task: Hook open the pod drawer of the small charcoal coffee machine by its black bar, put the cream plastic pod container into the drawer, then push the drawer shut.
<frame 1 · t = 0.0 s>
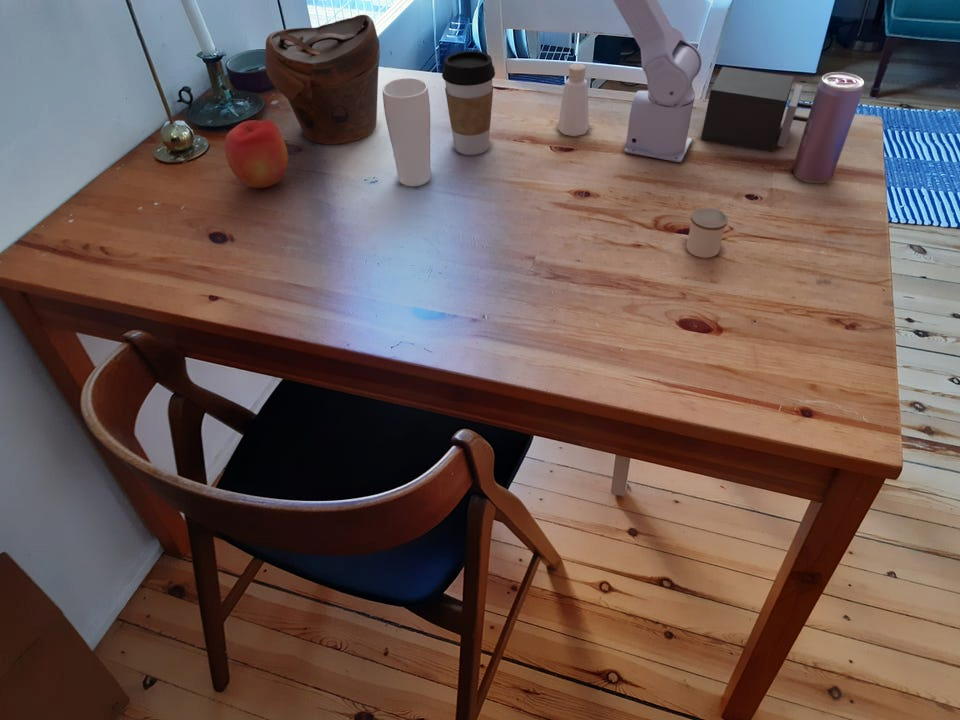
beverage can: (811, 175, 111), on the table
pod container: (702, 248, 98), on the table
apple: (265, 184, 114), on the table
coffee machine: (740, 132, 121), on the table
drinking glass: (414, 180, 114), on the table
drawer: (776, 113, 117), point 4 cm above the table, slide at 0.5 cm
coffee cup: (471, 147, 121), on the table
pepper shaker: (573, 130, 124), on the table
case: (337, 130, 127), on the table
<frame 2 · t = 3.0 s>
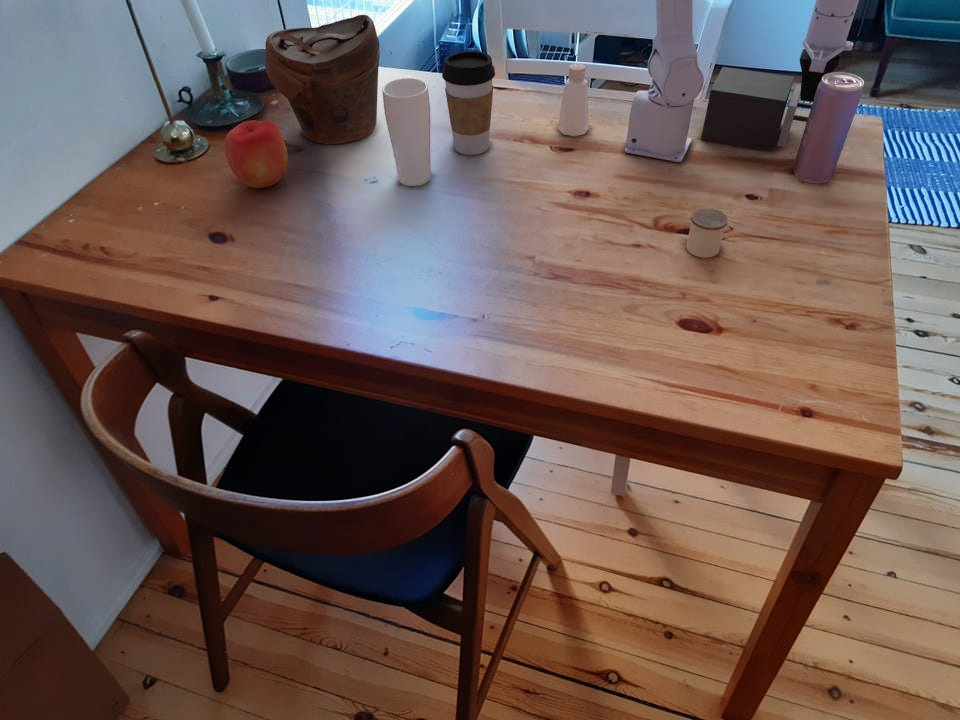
hand: (807, 99, 114), 7 cm above the table, tool pointing down, fingers closed, pressing on drawer
drawer: (776, 113, 117), point 4 cm above the table, slide at 0.5 cm, touching gripper
everything else where it was.
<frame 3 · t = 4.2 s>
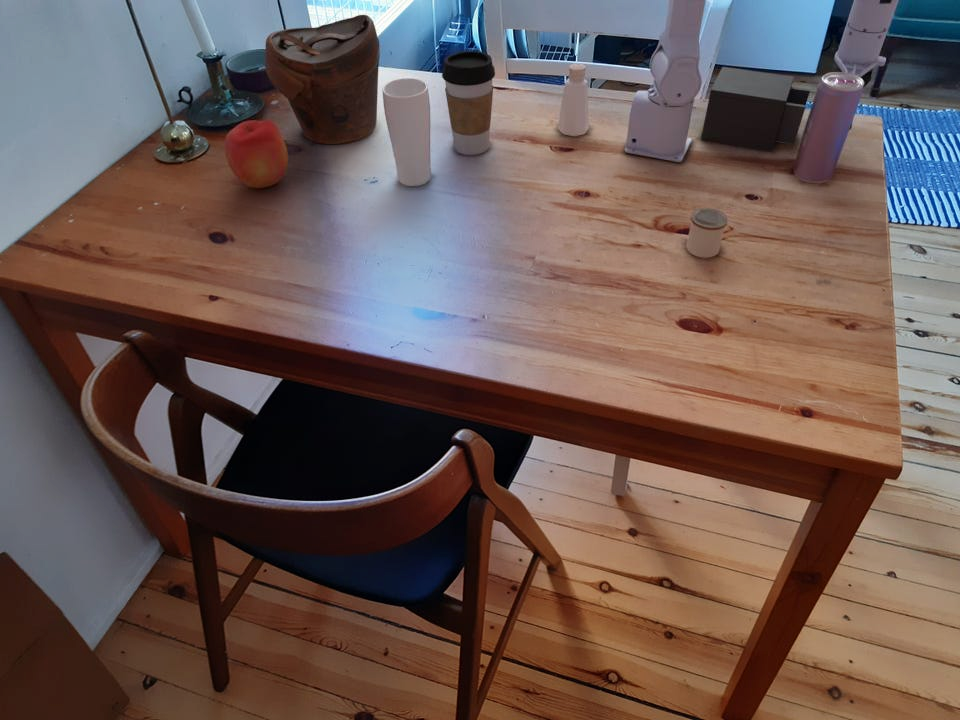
hand: (837, 114, 114), 5 cm above the table, tool pointing down, fingers closed, pressing on drawer
drawer: (800, 116, 115), point 4 cm above the table, slide at 4.3 cm, touching gripper
everything else where it was.
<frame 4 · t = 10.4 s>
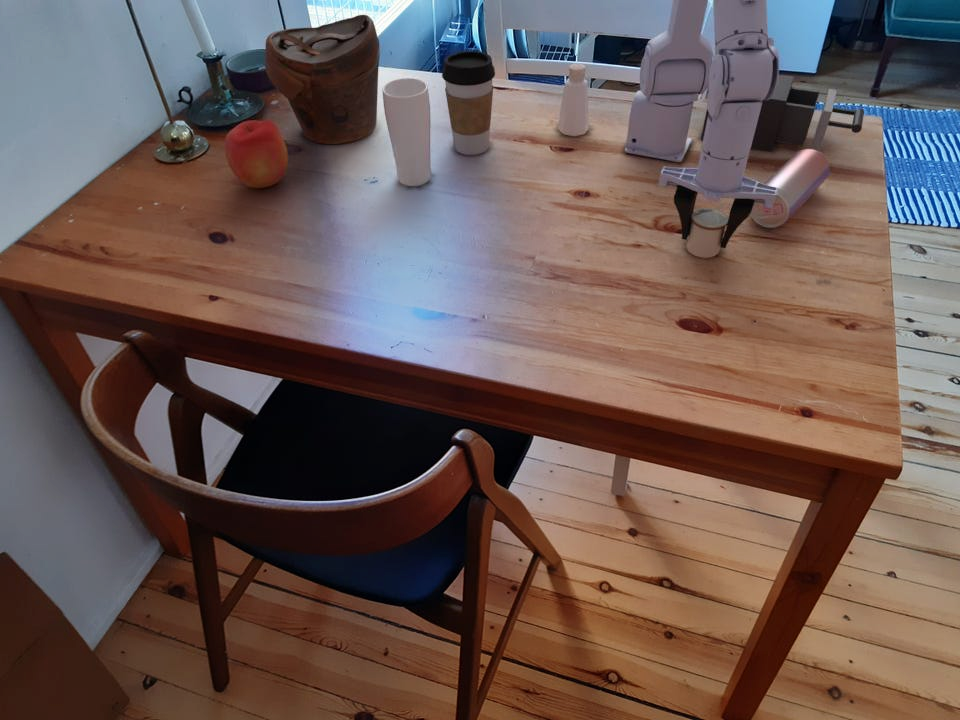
hand: (704, 239, 97), 1 cm above the table, tool pointing down, fingers closed on pod container, 4 cm apart
beverage can: (811, 165, 107), point 3 cm above the table
pod container: (702, 248, 98), on the table, touching gripper
drawer: (809, 118, 115), point 4 cm above the table, slide at 5.7 cm
everything else where it was.
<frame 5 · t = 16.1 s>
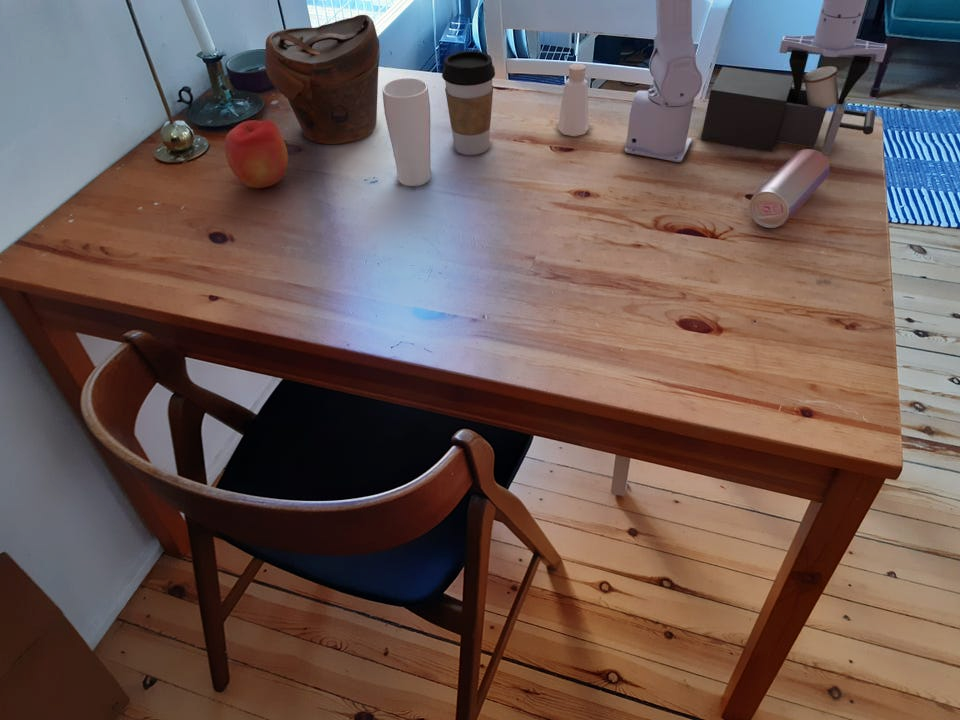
hand: (817, 101, 113), 7 cm above the table, tool pointing down, fingers closed on pod container, 6 cm apart
pod container: (823, 104, 113), point 7 cm above the table, tilted 22°, touching drawer, gripper
drawer: (820, 119, 115), point 4 cm above the table, slide at 7.4 cm, touching gripper, pod container
everything else where it was.
when the fingers open (7 cm above the table, at t = 16.8 s): pod container stays where it is and tips over, resting on drawer.
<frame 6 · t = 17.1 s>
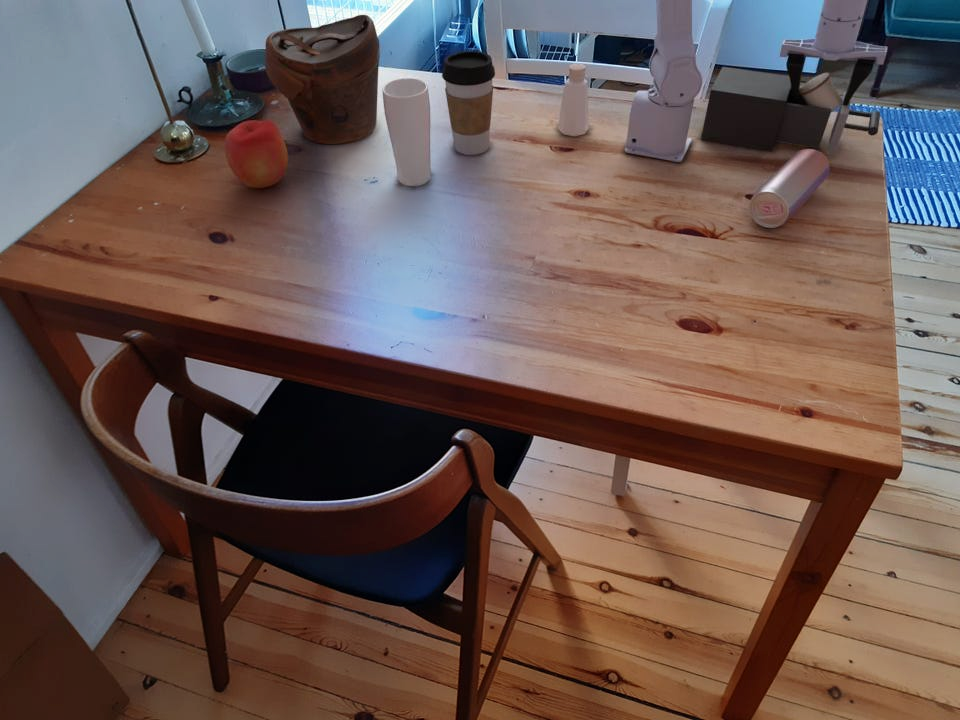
hand: (818, 104, 113), 7 cm above the table, tool pointing down, fingers open, 7 cm apart
pod container: (828, 108, 113), point 6 cm above the table, tilted 42°, touching drawer
drawer: (825, 120, 114), point 4 cm above the table, slide at 8.1 cm, touching gripper, pod container
everything else where it was.
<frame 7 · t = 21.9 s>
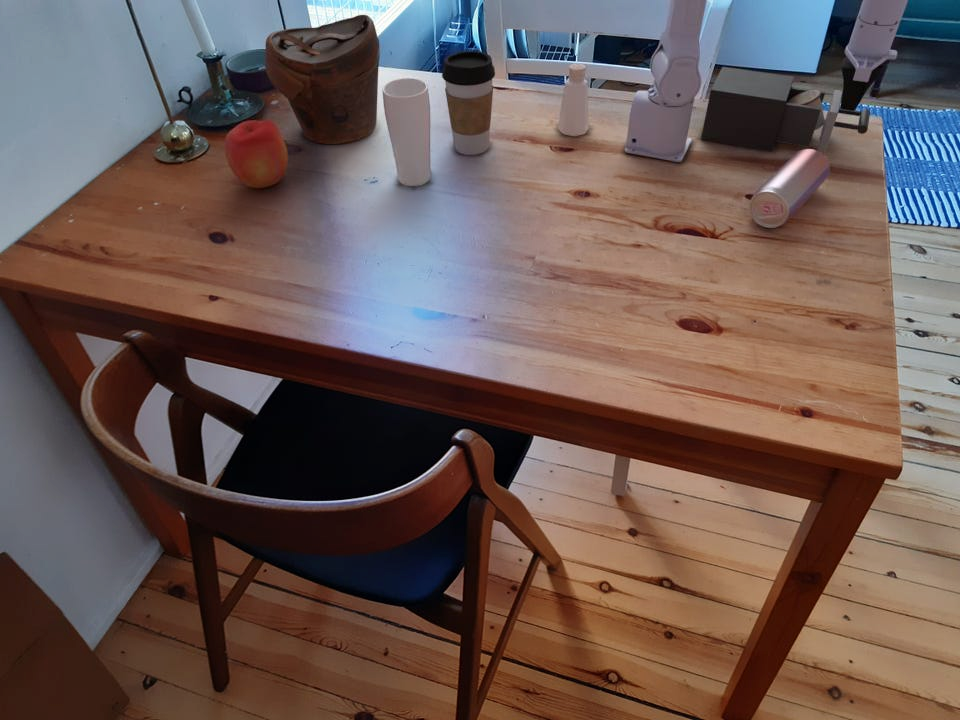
hand: (847, 108, 113), 6 cm above the table, tool pointing down, fingers closed, pressing on drawer
pod container: (810, 126, 116), point 3 cm above the table, tilted 27°, touching drawer
drawer: (815, 119, 115), point 4 cm above the table, slide at 6.6 cm, touching gripper, pod container
everything else where it was.
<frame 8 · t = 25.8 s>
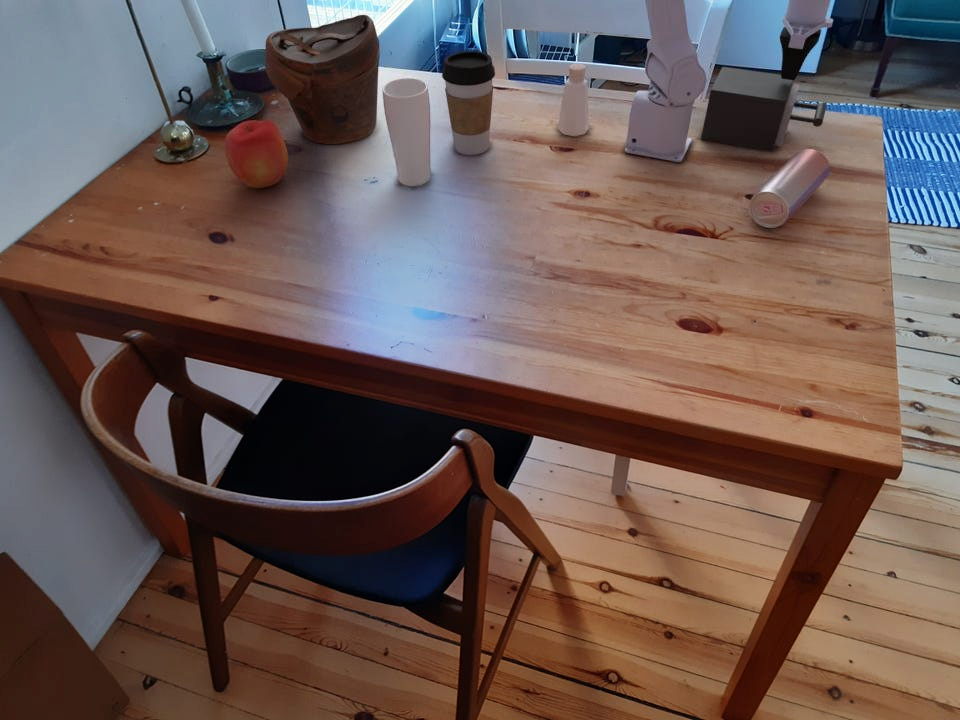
hand: (788, 77, 114), 9 cm above the table, tool pointing down, fingers closed
pod container: (765, 124, 119), point 2 cm above the table, touching drawer
drawer: (773, 112, 117), point 4 cm above the table, slide at 0.0 cm, touching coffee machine, pod container
everything else where it was.
at the end: drawer pulled out 8.1 cm at the most during the clip, back to where it started at the end; pod container inside the target area in the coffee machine (2.6 cm from its centre), point 2.1 cm above the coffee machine's base; drawer slide at 0.0 cm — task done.
